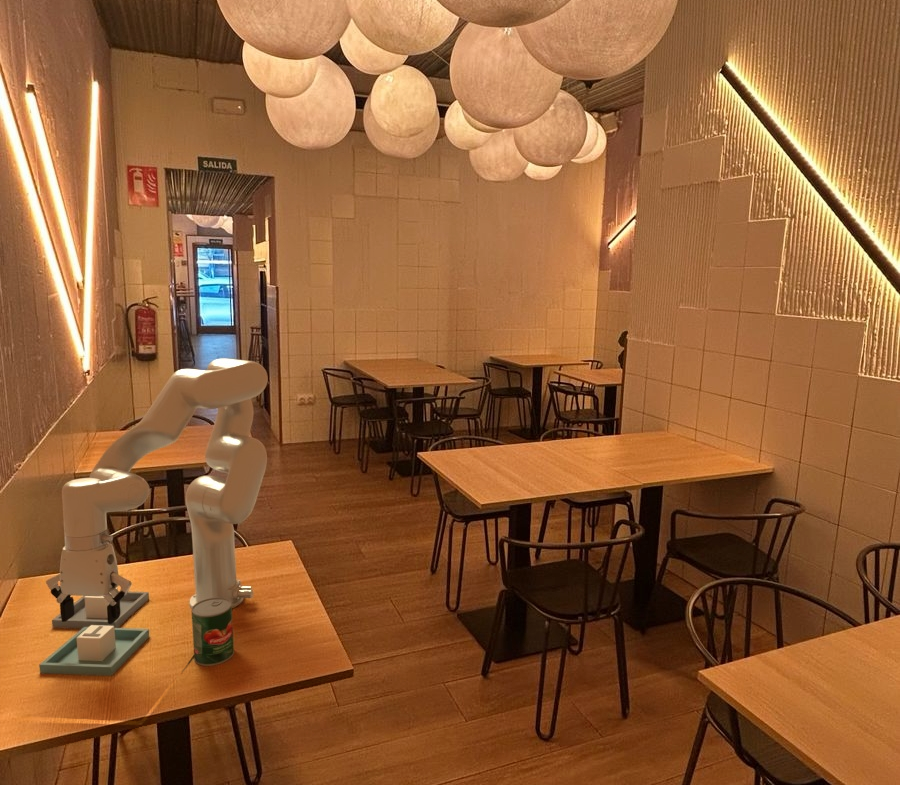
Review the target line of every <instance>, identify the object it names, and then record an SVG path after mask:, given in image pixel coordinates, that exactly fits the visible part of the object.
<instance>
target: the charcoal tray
mask: <svg viewBox="0 0 900 785" xmlns="http://www.w3.org/2000/svg"><path fill="white" fill-rule="evenodd" d="M118 591H119V592H120V590H118ZM84 597H85V596H80V598H79V599H77V600H76V601H75V602H74V616H72V617H71V618H70V619H68V620H67V621H66V622H62V619H61V613H59V614H58V615H56V616H55V617H54V618H53V619H51V623H52V624H51V626H52V629H78V630H81V629H82V628H83V627H89V626H91V625H104V626H114V628H120V626H122V625H123V624H124V623H125V622H126V621H127V620H128V619H129V618H130V617H132V616H133V615H134V613H135V612H137V611H138V610H139V609H141V607H142V606H144V605H145V603H147V601H149V600H150V594H149V591H130V590H128V593H127V594H126V595H125V596H124V597H123V598H122V599H121V600H120V616H119V618H118V619H117V620H116V621H115V622H114V623H112V624H109V623H108V618H86V609H85V598H84Z"/></svg>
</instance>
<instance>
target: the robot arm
mask: <svg viewBox="0 0 900 785" xmlns="http://www.w3.org/2000/svg"><path fill="white" fill-rule="evenodd" d="M268 377H269V376H268V373H267V370H266V369H265V367H264V366H263V365H262V364H261V363H259V362H256V361H254V360H246V359H245V360H244V359H236V358H225V357H224V358H217V359H213V360H212V361H210V362H209V364H208V365H207V368H206V370H204V369H197V368H181V369H178V370H176V371H174V373H172V375H171V376H170V378H169V379H168V380H167V381H166V383H165V385H164V386H163V388H161V390H160V392H159V393H158V394H157V397H156V398H155V399H154V400H153V402H152V404H151V406H150V407H149V409H148V410H147V412H146V413H145V414H144V416H143V417H142V419H141V420H140V421H139V422H138V423H137V424H135V425H134V426H133V427H131V428H130V429H129V430H127V431H126V432H125V433H123V434H122V435H121V436H119V437H118V438H117V439H116V440H115V441H113V442H112V443H111V444H110V445H109V446H108V448H107V449H106V450H105V451H104V452H103V454H102V455H101V456H100V458H99V460H98V461H97V463H95V465H94V467H93V468H92V471H91V472H90V474H89V477H82V478H75V479H72V480H69V481H67V482H65V484H64V485H63V486H62V488H61V498H62V500H61V501H62V502H61V503H62V514H63V530H64V531H63V533H64V546H63V547H62V550H61V554H60V555H61V556H60V564H59V573H57V574H56V575H53V576H52V577H49V578H48V579H47V580H46V581H45V583H46V585H47V587H48V589H49V590H50V594H51V595H52V596H53V597H54V598H55V599H56V602H57V603H58V604H59V609H60V611H59V612H60V613H61V619H62V622H66V621H67V620H68V619H70V618H71V617H72V616H74V603H75V602H74V601H75V600H74V597H73V596H76V597H77V596H79V597H83V596H103V597H104V598H105V599H106V600H107V601H108V603H109V605H108V606H107V617H108V623H109V624H112V623H114V622H115V621H116V620H117V619H118V618H119V616H120V600H121V599H122V598H123V597H124V596H125V595H126V594H127V593H128V591H130V588H131V586H132V585H133V583H132V581H131V580H128V579H127V578H125V577H123V576H121V575H119V568H118V567H119V566H118V561H117V557H116V553H115V552H116V551H115V548H114V546H113V544H112V542H113V540H114V535H112V534H109V532H108V523H107V513H110V512H119V511H120V512H121V511H130V510H134V509H136V508H138V507H140V506H142V505H143V504H144V503H145V502H146V500H148V497H149V495H150V486H149V483H148V482H147V481H146V480H145V479H144V478H143V477H142V476H140V475H138V474H136V473H132V472H131V470H132V469H133V467H135V465H136V464H137V463H138V462H139V461H140V460H141V459H142V458H143V457H145V456H146V455H148V454H150V453H153V452H154V451H157V450H159V449H162V448H164V447H167V446H170V445H173V444H174V443H176V442H177V441H178V439H179V438H180V436H181V434H182V433H183V431H184V430H185V428H186V427H187V426H188V424H189V422H190V421H191V419H192V417H193V416H194V414H195V413H196V411H197V410H198V408H199V409H205V410H215V409H217V411H216V412H217V413H216V416H215V420H214V425H213V427H212V431H211V433H210V436H209V440H208V442H207V446H206V449H205V454H204V459H205V463H206V465H207V466H209V467H210V468H211V469H213V470H215V471H218V472H221V473H225V474H227V476H226V478H223V477H220V476H216V475H201V476H198V477H197V478H195V479H194V480H192V482H190V484H189V485H188V487H187V489H186V493H185V505H186V509H187V513H188V518H189V522H190V527H191V539H192V540H191V541H192V558H193V572H194V573H193V574H194V576H193V577H194V588H195V594H193V595H192V596H191V597H190V598H189V601H188V602H189V603H188V605H189V608H191V609H192V607H193V606H194V605H195V604H196V603H198V602H200V601H202V600H205V599H209V598H217V597H219V598H226V599H228V600H230V601H231V603H232V606H231V607H232V609H234V608H236V607H237V606H239V605H240V604H241V603H243V601H244V599H252V598H253V597H254V596H253V595H254V591H253V589H252V586H248V585H247V586H243V585H242V584H241V579H237V568H236V548H235V546H236V545H235V529H234V525H237V524H240V523H243V522H244V521H246V519H247V518H248V517H249V516H250V515H251V513H252V511H253V510H254V508H255V504H256V502H257V499H258V496H259V492H260V489H261V485H262V482H263V480H264V479H263V478H264V476H265V473H266V469H267V464H268V455H267V454H268V453H267V449H266V446H265V445H264V443H262V442H261V441H260V440H259V439H258V438H255V437H252V436H250V434H251V429H252V425H253V420H254V414H255V412H254V405H253V402H252V399H253V398H255V397H257V396H259V395H260V394H262V393H263V392H264V390H265V389H266V387H267V385H268ZM118 587H120V589H119V590H117V589H116V588H118ZM119 591H120V592H119ZM110 593H111V594H112V595H113V596H114V597H113V596H112V595H111V594H110ZM60 613H59V614H60Z"/></svg>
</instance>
